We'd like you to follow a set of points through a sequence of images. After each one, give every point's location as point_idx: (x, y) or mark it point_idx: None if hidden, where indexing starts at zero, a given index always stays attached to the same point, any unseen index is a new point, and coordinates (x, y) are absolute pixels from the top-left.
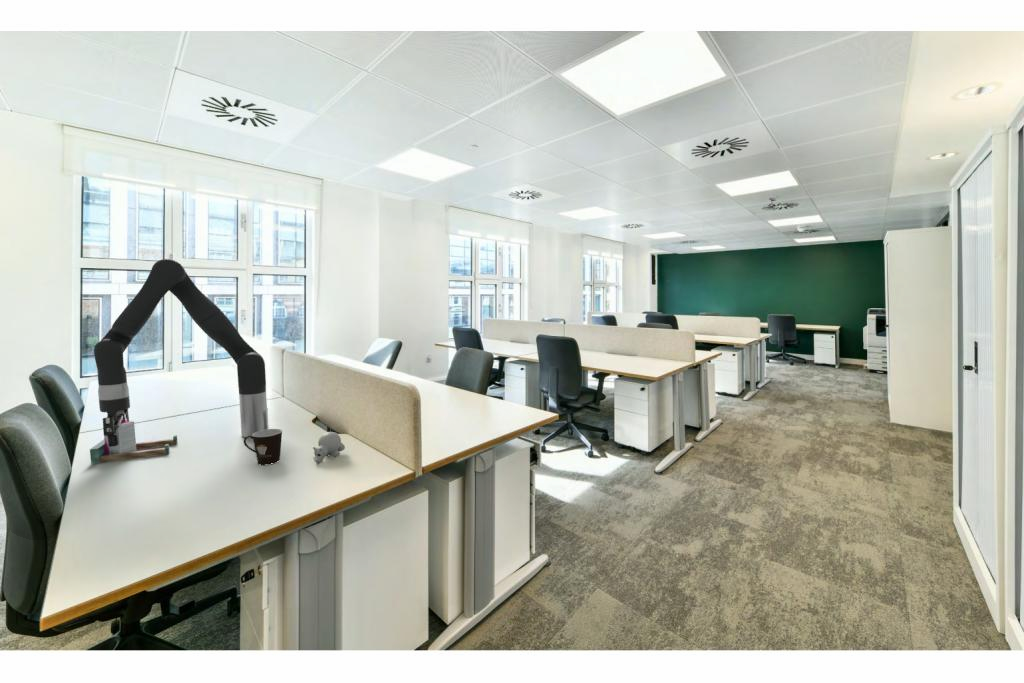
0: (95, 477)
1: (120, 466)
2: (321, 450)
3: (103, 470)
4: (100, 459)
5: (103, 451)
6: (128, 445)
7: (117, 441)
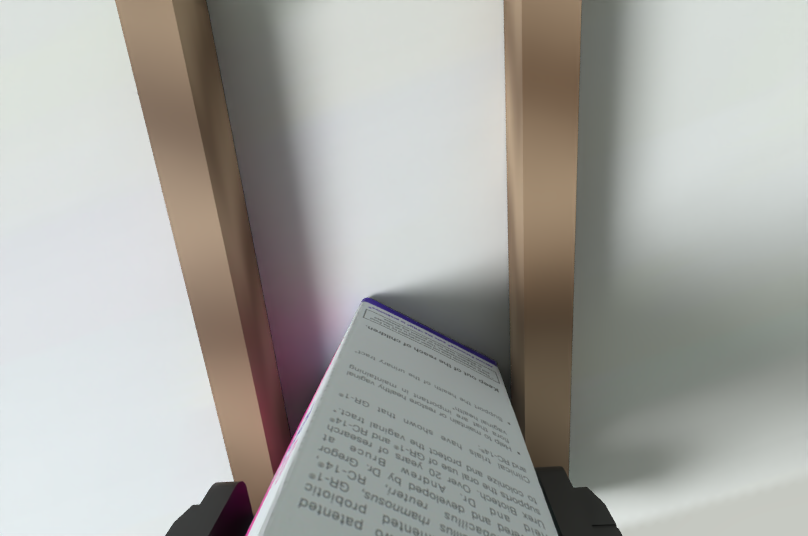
0: None
1: (737, 279)
2: None
3: (772, 366)
4: None
5: None
6: (432, 376)
7: (559, 503)
